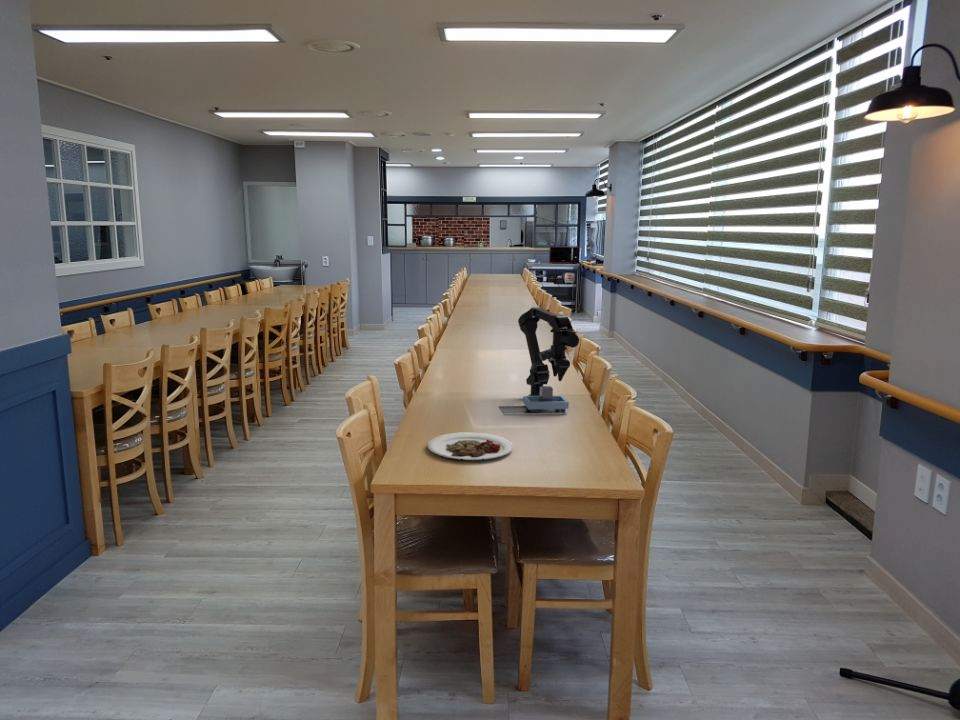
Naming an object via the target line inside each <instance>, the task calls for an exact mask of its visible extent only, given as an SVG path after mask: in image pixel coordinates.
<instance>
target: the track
mask: <svg viewBox="0 0 960 720" xmlns="http://www.w3.org/2000/svg"><path fill="white" fill-rule="evenodd" d="M498 409H499V410H500V412H501V413H502V415H503V416H537V415H538V416H539V415H541V416H543V415H545V416H546V415H549V416H550V415H551V416H552V415H553V416H554V415H568V414H569V413H568V411H567V412H566V411H565V412H561V411H560V409H535V413H531V412H530V409H528V408H527V407H526V406H525V404H523V405H498Z"/></svg>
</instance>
